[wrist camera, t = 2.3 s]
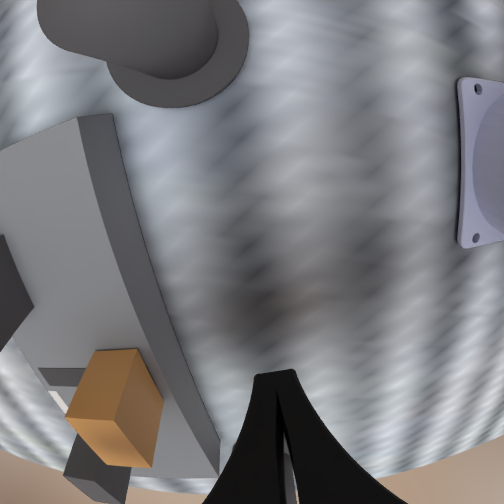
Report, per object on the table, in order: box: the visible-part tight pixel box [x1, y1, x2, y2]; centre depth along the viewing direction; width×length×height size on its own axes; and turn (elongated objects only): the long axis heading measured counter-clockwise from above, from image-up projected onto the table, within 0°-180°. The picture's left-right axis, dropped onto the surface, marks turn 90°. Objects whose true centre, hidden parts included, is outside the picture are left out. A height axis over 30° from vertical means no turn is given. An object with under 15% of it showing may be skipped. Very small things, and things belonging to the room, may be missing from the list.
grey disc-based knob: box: [37, 0, 249, 108], centre depth 7 cm, size 5×5×7 cm
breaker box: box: [0, 114, 220, 504], centre depth 12 cm, size 7×20×6 cm, turn 9°
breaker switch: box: [65, 349, 164, 468], centre depth 11 cm, size 2×3×4 cm, turn 9°
